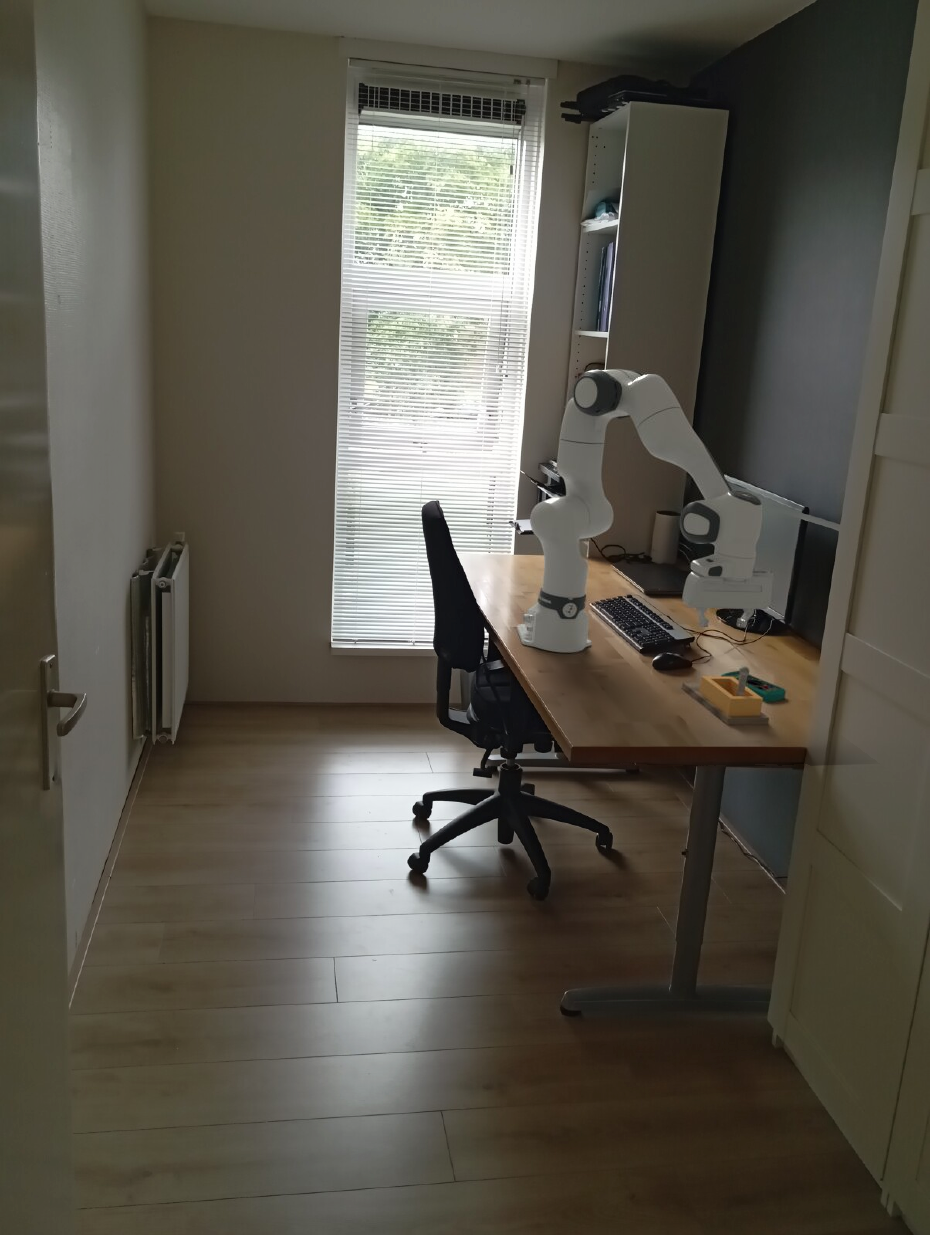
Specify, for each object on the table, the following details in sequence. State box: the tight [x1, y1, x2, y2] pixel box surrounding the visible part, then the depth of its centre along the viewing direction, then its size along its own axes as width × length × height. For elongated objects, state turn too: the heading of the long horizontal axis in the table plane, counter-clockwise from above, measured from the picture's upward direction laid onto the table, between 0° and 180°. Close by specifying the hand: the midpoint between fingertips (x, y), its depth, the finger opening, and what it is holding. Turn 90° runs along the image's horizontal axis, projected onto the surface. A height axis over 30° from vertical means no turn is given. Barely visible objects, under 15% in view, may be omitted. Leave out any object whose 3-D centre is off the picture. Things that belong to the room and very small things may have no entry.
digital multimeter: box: [720, 670, 787, 703], centre depth 244 cm, size 7×15×3 cm, turn 35°
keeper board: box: [681, 665, 770, 726], centre depth 230 cm, size 22×10×12 cm, turn 15°
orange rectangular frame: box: [699, 675, 764, 716], centre depth 228 cm, size 14×8×4 cm, turn 14°
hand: (722, 626), depth 227 cm, fingers open, 8 cm apart
